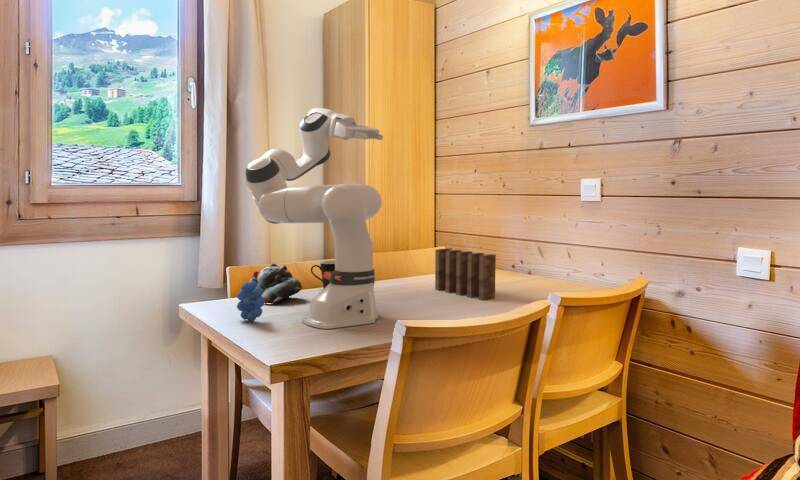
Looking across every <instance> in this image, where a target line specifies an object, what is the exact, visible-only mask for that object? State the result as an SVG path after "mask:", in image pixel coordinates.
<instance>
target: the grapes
mask: <svg viewBox="0 0 800 480" xmlns="http://www.w3.org/2000/svg"><path fill="white" fill-rule="evenodd" d="M249 281H250V280H249ZM249 281H248V282H247V281H246V282H244V283H243V284H242V285H241V288H240V290H239V291H238V293H237V295H236V297H237V299H238V300H239V302H238V303H237V304H236V308H237V310H238V311H240V317H241V319H243V320H247V321H248V322H249V323H253V322H255V321H256V319H257V318H259V317H261V316H262V315H263V314H262V313H263V308H262V307H263V306H264V305H265V304H264V303H265V300H264V298H263V297H262V296H261V295H262V293H263V289H262V288H261V287H259V286H258V285H257V283H256V282H255V281H250V282H249Z"/></svg>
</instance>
